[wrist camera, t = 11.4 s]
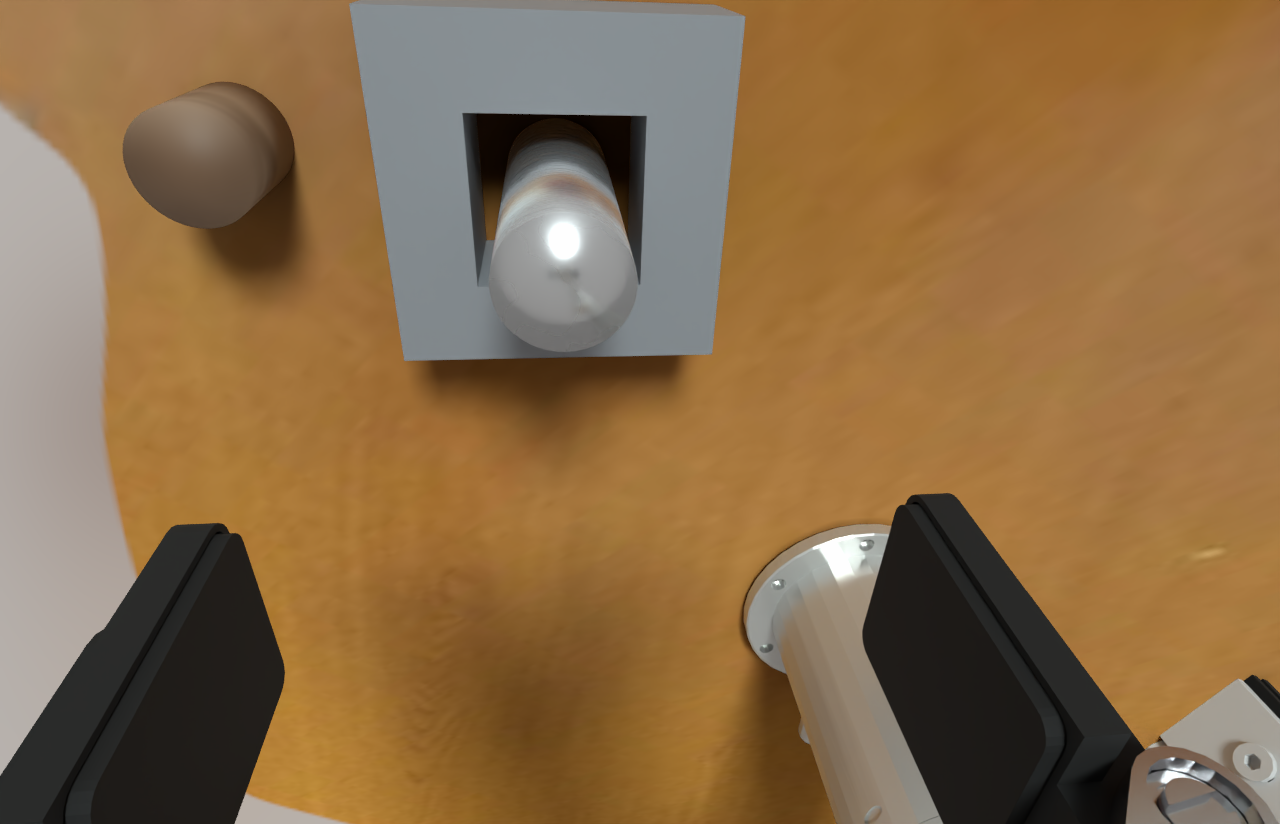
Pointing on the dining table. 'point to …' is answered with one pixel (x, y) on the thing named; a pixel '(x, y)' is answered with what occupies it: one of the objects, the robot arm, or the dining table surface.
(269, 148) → the walnut pin
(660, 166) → the hole block
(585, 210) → the steel pin
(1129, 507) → the dining table surface
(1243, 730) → the hinge
